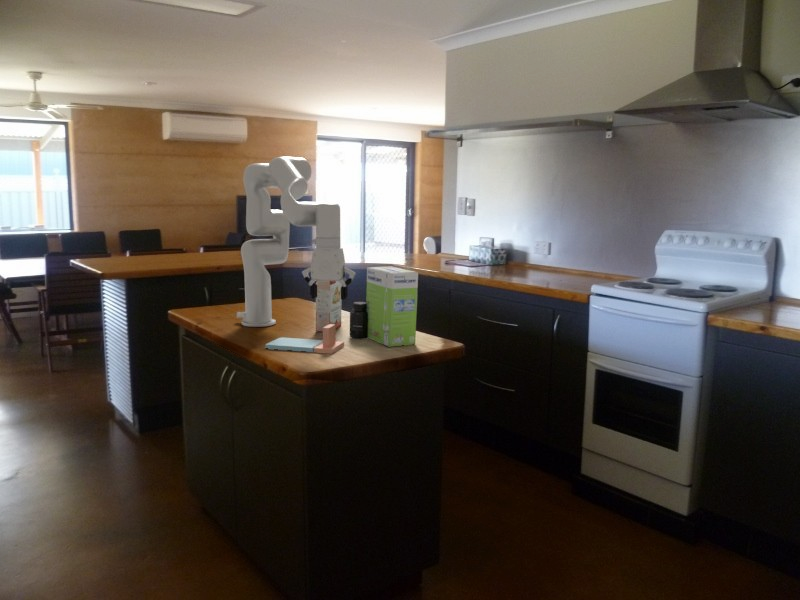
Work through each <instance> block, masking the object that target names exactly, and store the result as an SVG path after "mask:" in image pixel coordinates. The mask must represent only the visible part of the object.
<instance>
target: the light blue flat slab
mask: <svg viewBox="0 0 800 600" xmlns="http://www.w3.org/2000/svg"><path fill="white" fill-rule="evenodd" d="M322 343H323V339H308V338H297V337H295V338H294V337H284V336H281V337H277V338H276V339H273V340H272V341H270V342H268V343H265V346H264V347H265V348H268V349H267V350H274V349H278V350H277V351H287V350H292V351H291V352H301V351H306V352H305V353H315V352H314V348H315V347H316V346H318V345H320V344H322Z"/></svg>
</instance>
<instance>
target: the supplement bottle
mask: <svg viewBox="0 0 800 600" xmlns="http://www.w3.org/2000/svg"><path fill="white" fill-rule="evenodd" d="M366 309H367V303H366V301H354V302H352V310H350V312H349V337H350V338H351V339H354V340H366V339H369V337H368V312H367V311H366Z"/></svg>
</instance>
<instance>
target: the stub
mask: <svg viewBox="0 0 800 600" xmlns="http://www.w3.org/2000/svg"><path fill="white" fill-rule="evenodd" d="M336 329H337V328H336V326H335V324H329V325H327V326H325V327H323V332H322V340H323V343H322V344H320V345H318V346H316V347H315V348H314V352H313V353H315V352H316V353H318V354H330V355H331V354H334V353H335V352H337V351H339V350H340V349H342V348H343V347H345V341H339V340H336V339H337V337H336V334H337V333H336V332H337V330H336Z"/></svg>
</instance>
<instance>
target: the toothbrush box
mask: <svg viewBox="0 0 800 600" xmlns="http://www.w3.org/2000/svg"><path fill="white" fill-rule="evenodd" d="M418 281H419V272H418V271H414V270H409V269H404V268H400V267H396V266H392V265H390V266H371V267H367V268H366V298H365V299H366V300H365V302H366V303H367V309H366V311H367V312H368V339H371V340H373V341H375V342H377V343H379V344H381V345H384V346H386V347H389V348H393V347H402V345H404V346H412V345H411V344H415V345H416V337H417V336H416V335H417V334H416V331H417V309H418V287H419V282H418Z"/></svg>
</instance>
